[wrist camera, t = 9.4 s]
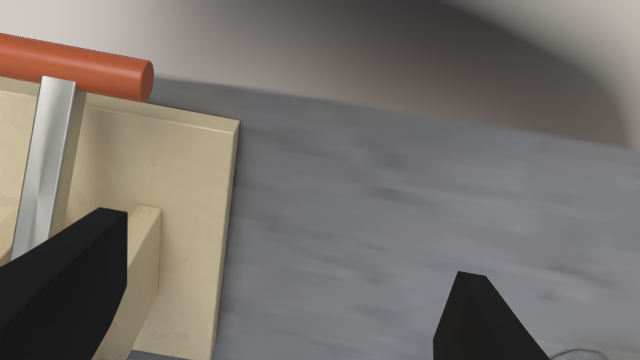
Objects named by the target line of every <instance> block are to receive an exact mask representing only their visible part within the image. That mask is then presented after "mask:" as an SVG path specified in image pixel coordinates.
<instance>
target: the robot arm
mask: <svg viewBox="0 0 640 360" xmlns="http://www.w3.org/2000/svg"><path fill="white" fill-rule="evenodd" d="M127 258H128V212H126V211H120V210H114V209H109V208H103V207H99V208H97V209H95V210H94V211H92V212H90V213H89V214H87V215H85V216H84V217H82V218H81V219H79V220H78V221H76V222H75V223H73V224H71V225H70V226H68V227H67V228H65V229H63V230H62V231H60V232H59V233H57V234H56V235H54V236H52V237H51V238H49V239H48V240H46V241H44V242H43V243H41V244H39V245H38V246H36V247H34V248H33V249H31V250H30V251H28V252H26V253H25V254H23V255H21V256H19V257H17V258H16V259H14V260H12V261H10V262H8V263H6V264H5V265H3V266H1V267H0V360H92V358H93V356H94V354H95V353H96V351H97V349H98V347H99V346H100V344H101V342H102V340H103V339H104V337H105V335H106V333H107V332H108V330H109V328H110V326H111V324H112V322H113V319H114V317H115V315H116V312H117V310H118V308H119V305H120V303H121V300H122V298H123V295H124V293H125V290H126V288H127ZM433 360H550V359H549V357H548V356H547V355H546V354H545V353H544V351H543V350H542V349H541V348H540V347H539V345H538V344H537V343H536V342H535V340H534V339H533V338H532V337H531V335H530V334H529V333H528V331H527V330H526V329H525V328H524V326H523V325H522V324H521V322H520V321H519V320H518V318H517V317H516V316H515V314H514V313H513V312H512V310H511V309H510V308H509V306H508V305H507V304H506V302H505V301H504V300H503V298H502V297H501V295H500V294H499V293H498V291H497V290H496V289H495V287H494V286H493V285H492V283H491V282H490V281H489V280H488V278H487V277H486V276H483V275H477V274H472V273H466V272H461V271H458V272H457V275H456V278H455V281H454V283H453V286H452V289H451V292H450V294H449V297H448V300H447V303H446V305H445V308H444V311H443V314H442V316H441V319H440V322H439V325H438V327H437V330H436V333H435V335H434V338H433Z"/></svg>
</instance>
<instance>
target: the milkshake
mask: <svg viewBox="0 0 640 360" xmlns="http://www.w3.org/2000/svg"><path fill="white" fill-rule="evenodd" d="M552 360H606V359H604V358H603V357H602V356H601V355H600V354H598V353H596V352H587V351H578V350H574V351H571V352H568V353H565V354H563V355H560V356H557V357H554V358H553V359H552Z"/></svg>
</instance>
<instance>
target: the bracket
mask: <svg viewBox="0 0 640 360" xmlns="http://www.w3.org/2000/svg"><path fill="white" fill-rule="evenodd" d="M39 87H40V84H37V83H32V82H26V81H21V80H15V79H10V78H4V77H0V267H1V266H3V265H5V264H6V263H8V262H9V260H10V254H11V248H12V242H13V237H14V231H15V225H16V219H17V214H18V208H19V202H20V196H21V191H22V185H23V179H24V173H25V168H26V162H27V156H28V150H29V145H30V139H31V133H32V127H33V122H34V116H35V110H36V104H37V99H38V93H39ZM239 126H240V121H239V120H234V119H229V118H223V117H218V116H212V115H207V114H201V113H196V112H190V111H185V110H180V109H174V108H169V107H163V106H158V105H152V104H147V103H140V102H135V101H129V100H124V99H119V98H113V97H108V96H102V95H97V94H91V93H87V95H86V101H85V107H84V112H83V118H82V124H81V129H80V135H79V141H78V147H77V152H76V158H75V164H74V169H73V175H72V181H71V187H70V192H69V198H68V204H67V209H66V215H65V221H64V227H63V229H65V228H67V227H68V226H70V225H71V224H73V223H75V222H76V221H78V220H79V219H81V218H82V217H84V216H85V215H87V214H89V213H90V212H92V211H94V210H95V209H97V208H99V207H103V208H109V209H114V210H120V211H126V212H128V258H127V288H126V290H125V293H124V295H123V298H122V300H121V303H120V305H119V308H118V310H117V312H116V315H115V317H114V319H113V322H112V324H111V326H110V328H109V330H108V332H107V333H106V335H105V337H104V339H103V340H102V342H101V344H100V346H99V347H98V349H97V351H96V353H95V354H94V356H93V358H92V360H127V358H128V356H129V354H130V352H131V350H137V351H143V352H149V353H154V354H160V355H166V356H172V357H177V358H183V359H189V360H211V357H212V354H213V350H214V347H215V342H216V333H217V324H218V315H219V306H220V297H221V288H222V279H223V270H224V261H225V252H226V243H227V234H228V225H229V216H230V207H231V198H232V189H233V180H234V171H235V162H236V153H237V144H238V135H239Z"/></svg>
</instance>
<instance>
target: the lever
mask: <svg viewBox="0 0 640 360" xmlns="http://www.w3.org/2000/svg"><path fill="white" fill-rule="evenodd" d="M0 77H4V78H10V79H15V80H21V81H26V82H32V83H37V84H40V87H39V93H38V99H37V104H36V110H35V116H34V122H33V127H32V133H31V139H30V145H29V150H28V156H27V162H26V168H25V173H24V179H23V185H22V191H21V196H20V202H19V208H18V214H17V219H16V225H15V231H14V237H13V242H12V248H11V254H10V260H9V262H10V261H12V260H14V259H16V258H17V257H19V256H21V255H23V254H25V253H26V252H28V251H30V250H31V249H33V248H34V247H36V246H38V245H39V244H41V243H43V242H44V241H46V240H48V239H49V238H51V237H52V236H54V235H56V234H57V233H59V232H60V231H62V230H63V227H64V221H65V215H66V209H67V204H68V198H69V192H70V187H71V181H72V175H73V169H74V164H75V158H76V152H77V147H78V141H79V135H80V129H81V124H82V118H83V112H84V107H85V101H86V95H87V93H91V94H97V95H102V96H108V97H113V98H119V99H124V100H129V101H135V102H140V103H144V102H146V101H147V100H148V98H149V96H150V94H151V90H152V86H153V79H154V70H153V65H152V63H151V62H150V61H148V60H143V59H137V58H133V57H127V56H122V55H116V54H111V53H106V52H100V51H95V50H90V49H84V48H79V47H73V46H68V45H63V44H57V43H52V42H46V41H41V40H36V39H30V38H24V37H19V36H14V35H9V34H3V33H0Z"/></svg>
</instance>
